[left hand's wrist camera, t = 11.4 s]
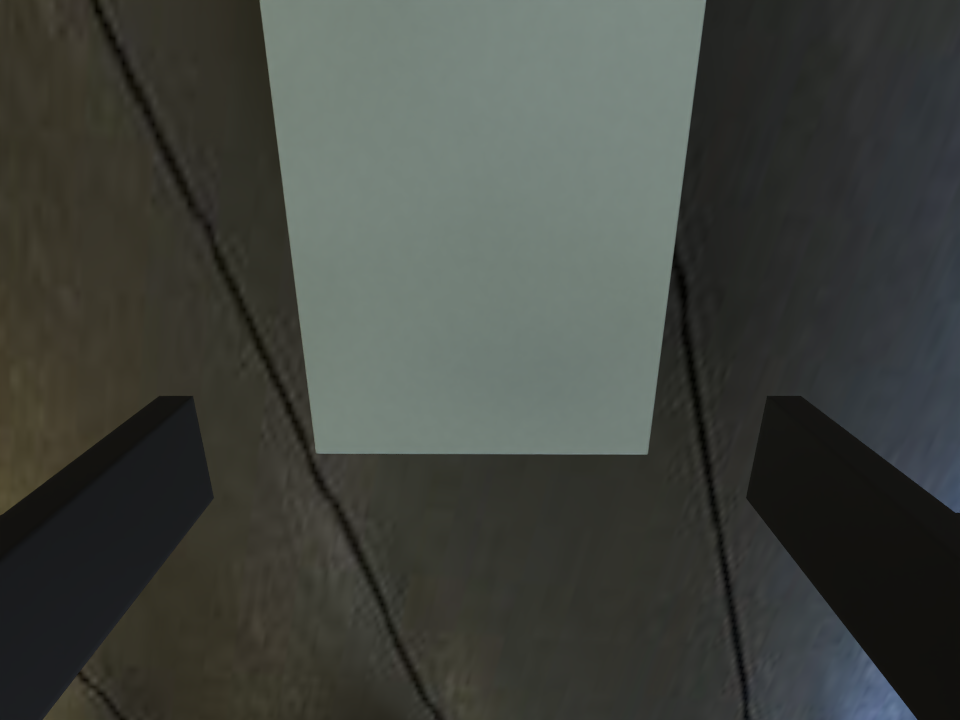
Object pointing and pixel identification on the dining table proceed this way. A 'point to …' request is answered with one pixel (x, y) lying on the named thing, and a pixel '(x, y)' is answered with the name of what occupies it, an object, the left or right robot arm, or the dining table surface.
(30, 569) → the left robot arm
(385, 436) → the cabinet
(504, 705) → the dining table surface
